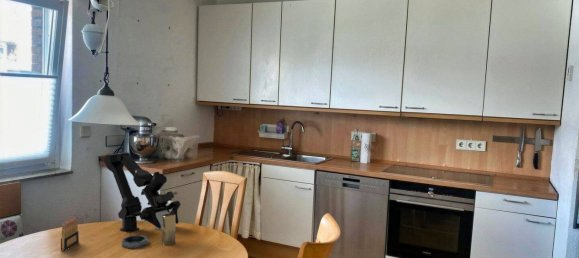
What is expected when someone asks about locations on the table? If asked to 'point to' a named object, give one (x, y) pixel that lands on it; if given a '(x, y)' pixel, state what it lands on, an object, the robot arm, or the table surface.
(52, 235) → the table surface
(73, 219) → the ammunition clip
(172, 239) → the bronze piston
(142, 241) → the ring collar
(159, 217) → the supplement box
